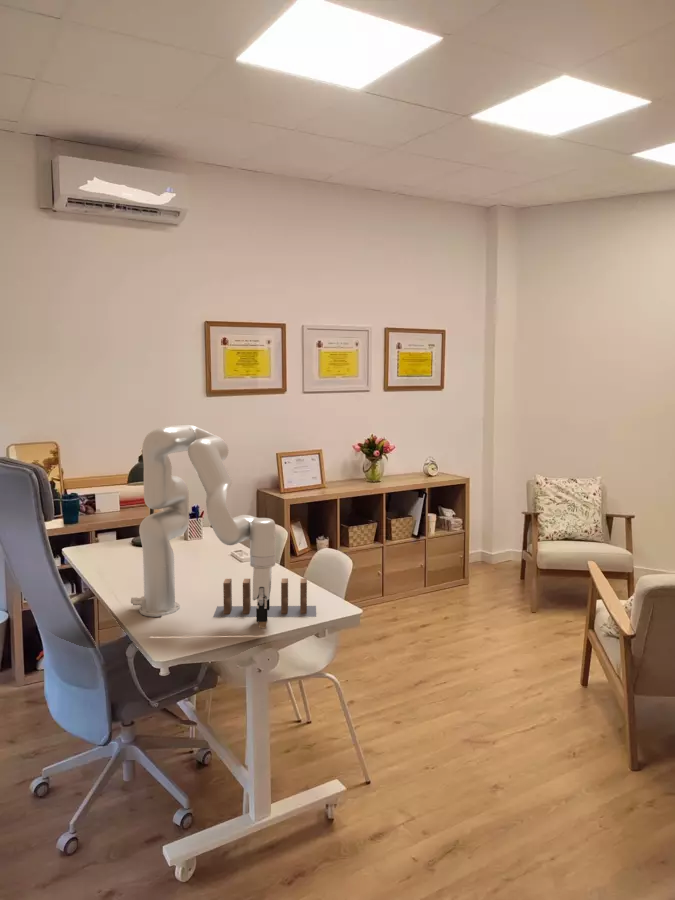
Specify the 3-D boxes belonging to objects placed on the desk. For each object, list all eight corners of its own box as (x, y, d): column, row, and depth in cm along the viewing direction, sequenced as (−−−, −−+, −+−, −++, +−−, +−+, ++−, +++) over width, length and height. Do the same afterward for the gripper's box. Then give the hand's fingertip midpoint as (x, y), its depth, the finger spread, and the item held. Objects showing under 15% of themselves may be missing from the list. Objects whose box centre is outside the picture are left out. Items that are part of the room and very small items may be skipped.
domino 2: (242, 613, 217) (242, 583, 215) (244, 608, 221) (244, 578, 220) (249, 613, 217) (249, 582, 216) (250, 608, 221) (250, 578, 220)
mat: (212, 618, 214) (212, 617, 214) (217, 607, 224) (217, 606, 224) (316, 617, 215) (316, 616, 215) (316, 606, 225) (316, 605, 225)
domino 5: (300, 613, 217) (300, 582, 216) (300, 608, 222) (300, 578, 221) (306, 613, 217) (306, 582, 216) (306, 608, 222) (306, 578, 221)
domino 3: (259, 629, 205) (259, 596, 204) (260, 623, 210) (260, 591, 208) (265, 629, 205) (265, 596, 204) (266, 623, 210) (266, 591, 208)
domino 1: (223, 614, 216) (223, 583, 215) (225, 609, 221) (225, 578, 220) (230, 614, 216) (229, 583, 215) (231, 609, 221) (231, 578, 220)
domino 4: (281, 613, 217) (281, 582, 216) (281, 608, 222) (281, 578, 220) (287, 613, 217) (287, 582, 216) (288, 608, 222) (288, 578, 221)
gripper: (252, 552, 213) (253, 606, 215) (247, 568, 196) (247, 626, 198) (276, 552, 214) (277, 605, 216) (273, 568, 197) (274, 626, 198)
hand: (263, 615), depth 207 cm, fingers open, 9 cm apart
